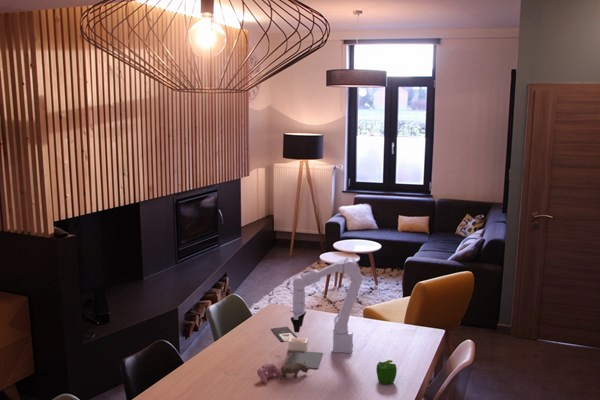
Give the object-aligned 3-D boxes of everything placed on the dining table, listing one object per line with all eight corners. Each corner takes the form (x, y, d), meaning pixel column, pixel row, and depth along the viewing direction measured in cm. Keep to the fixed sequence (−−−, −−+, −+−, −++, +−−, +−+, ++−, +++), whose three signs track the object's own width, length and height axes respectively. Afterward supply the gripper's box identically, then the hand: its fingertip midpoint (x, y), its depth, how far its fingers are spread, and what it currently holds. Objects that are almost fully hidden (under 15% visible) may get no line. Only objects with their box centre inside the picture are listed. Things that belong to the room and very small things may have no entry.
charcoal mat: (323, 353, 263) (323, 352, 263) (317, 369, 247) (317, 368, 247) (291, 351, 266) (291, 350, 266) (284, 366, 249) (284, 365, 249)
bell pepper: (371, 382, 234) (372, 359, 233) (383, 376, 240) (384, 353, 239) (387, 389, 229) (388, 365, 227) (399, 382, 234) (400, 359, 233)
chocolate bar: (287, 326, 297) (298, 338, 280) (287, 328, 297) (298, 340, 280) (270, 328, 294) (281, 340, 277) (270, 330, 294) (281, 342, 277)
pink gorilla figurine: (275, 377, 242) (269, 361, 243) (282, 375, 239) (276, 359, 240) (259, 385, 234) (253, 369, 236) (266, 383, 232) (260, 367, 233)
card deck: (307, 347, 271) (307, 338, 270) (306, 351, 266) (306, 342, 266) (290, 346, 272) (290, 337, 272) (288, 350, 268) (288, 340, 267)
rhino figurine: (312, 375, 240) (312, 362, 240) (281, 381, 235) (281, 367, 235) (308, 372, 244) (308, 358, 243) (278, 377, 239) (278, 363, 238)
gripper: (293, 296, 274) (292, 323, 276) (287, 305, 260) (287, 334, 262) (307, 297, 273) (307, 324, 275) (302, 306, 259) (301, 335, 260)
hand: (298, 329), depth 268 cm, fingers open, 7 cm apart
